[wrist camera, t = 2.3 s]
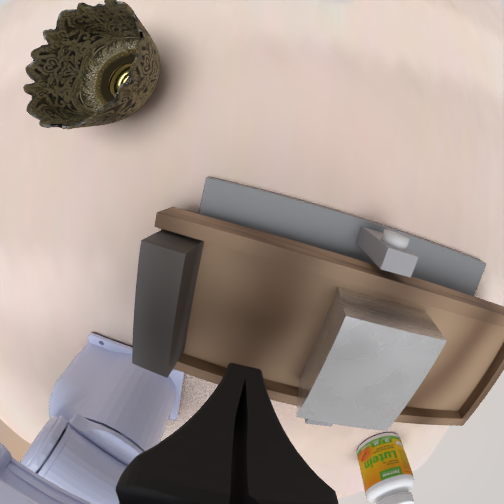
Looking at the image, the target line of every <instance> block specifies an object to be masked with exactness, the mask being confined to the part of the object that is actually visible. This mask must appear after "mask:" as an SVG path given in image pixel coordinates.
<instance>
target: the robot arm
mask: <svg viewBox="0 0 504 504" xmlns="http://www.w3.org/2000/svg"><path fill="white" fill-rule="evenodd" d="M102 341H103V342H102ZM132 350H133V348H132V347H129V346H127V345H124V344H121V343H118V342H116V341H113V340H110V339H107V338H105V337H102V336H100V335H97V334H95V333H91V334H90V335H89V336H88V344H87V345H86V346H85V347H84V348H83V350H82V351H81V352H80V353H79V354H78V355H77V357H76V358H75V359H74V360H73V361H72V363H71V364H70V365H69V366H68V367H67V369H66V370H65V371H64V372H63V373H62V375H61V376H60V377H59V379H58V380H57V382H56V384H55V386H54V388H53V390H52V393H51V397H50V401H49V415H50V419H49V421H48V422H47V423H46V425H45V426H44V427H43V429H42V430H41V431H40V433H39V434H38V435H37V437H36V438H35V440H34V441H33V443H32V444H31V446H30V447H29V449H28V450H27V452H26V453H25V455H24V456H23V458H22V460H21V461H20V462H18V461H17V460H15V459H14V458H12V456H11V454H10V452H9V451H8V449H7V448H6V447H5V446H4V445H3V444H1V443H0V504H338V500H337V496H336V493H335V491H334V490H333V489H332V488H331V487H330V486H328V485H327V484H326V483H325V482H324V481H323V480H322V479H321V478H319V477H318V476H317V474H316V473H315V472H314V471H313V470H312V469H311V468H310V467H309V466H308V464H307V463H306V462H305V461H304V459H303V458H302V457H301V456H300V454H299V453H298V452H297V450H296V449H295V448H294V446H293V445H292V443H291V442H290V440H289V438H288V437H287V435H286V433H285V431H284V430H283V428H282V426H281V424H280V422H279V420H278V418H277V416H276V413H275V411H274V409H273V406H272V404H271V401H270V398H269V396H268V393H267V389H266V386H265V383H264V379H263V374H262V371H261V370H260V369H257V368H253V367H248V366H244V365H240V364H236V363H229V364H228V367H227V370H226V372H225V375H224V376H223V378H222V380H221V382H220V383H219V385H218V386H217V388H216V389H215V391H214V392H213V394H212V395H211V396H210V397H209V399H208V400H207V401H206V402H205V403H204V405H203V406H202V407H201V408H200V409H199V410H198V411H197V412H196V413H195V414H194V415H193V416H192V417H191V418H190V419H189V420H188V421H187V422H186V423H185V424H184V425H183V426H181V427H180V428H179V429H178V430H177V431H175V432H174V433H173V434H171V435H170V436H169V437H167V438H166V439H164V440H163V441H161V442H160V440H161V438H162V435H163V432H164V429H165V426H166V424H167V421H168V418H169V419H172V420H176V419H177V418H178V413H179V406H180V400H181V393H182V387H183V380H184V374H185V373H183V372H181V371H178V370H175V369H173V370H172V371H171V373H170V375H169V376H168V378H166V377H164V376H161V375H159V374H156V373H154V372H151V371H149V370H146V369H144V368H142V367H139V366H137V365H135V364H132Z"/></svg>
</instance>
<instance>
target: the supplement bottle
mask: <svg viewBox="0 0 504 504" xmlns="http://www.w3.org/2000/svg"><path fill="white" fill-rule="evenodd" d="M357 455H358V460H359V465H360V470H361V474H362V479H363V484H364V489H365V494H366V498H367V500H368V501H370V502H372V503H376V504H414V500H413V496H412V494H411V492H409V491H410V490H411V488H412V487H413V485H414V478H413V474H412V471H411V468H410V465H409V462H408V459H407V456H406V454H405V451H404V448H403V445H402V442H401V440H400V438H399V436H398V435H397V434H394V433H382V434H378V435H375V436H373V437H371V438H369V439H367V440H366V441H364V442H363V443H362V444H361V445H360V446H359V448H358V450H357Z"/></svg>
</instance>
